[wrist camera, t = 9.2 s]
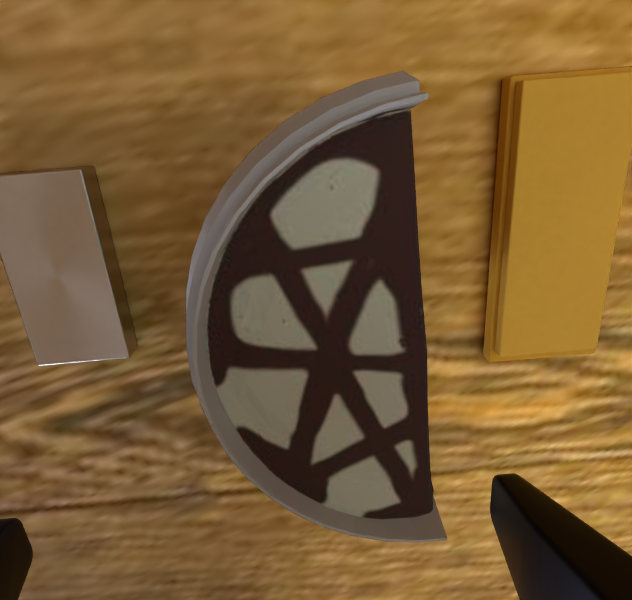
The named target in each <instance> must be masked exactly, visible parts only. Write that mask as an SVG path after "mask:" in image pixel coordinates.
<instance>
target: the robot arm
mask: <svg viewBox="0 0 632 600" xmlns="http://www.w3.org/2000/svg"><path fill="white" fill-rule="evenodd" d="M490 513H491V518H492V522H493V525H494V527H495V530H496V533H497V536H498V539H499V542H500V545H501V548H502V550H503V553H504V556H505V559H506V562H507V565H508V568H509V571H510V573H511V576H512V579H513V582H514V585H515V588H516V591H517V593H518V596H519V599H520V600H632V556H631V555H629V554H628V553H627V552H625V551H624V550H622V549H621V548H620V547H618V546H617V545H615V544H614V543H613V542H611V541H610V540H608V539H607V538H606V537H604V536H603V535H601V534H600V533H599V532H597V531H596V530H594V529H593V528H592V527H590V526H589V525H588V524H586V523H585V522H583V521H582V520H581V519H579V518H578V517H576V516H575V515H574V514H572V513H571V512H569V511H568V510H567V509H565V508H564V507H562V506H561V505H560V504H558V503H557V502H555V501H554V500H553V499H551V498H550V497H548V496H547V495H546V494H544V493H543V492H541V491H540V490H539V489H537V488H536V487H534V486H533V485H532V484H530V483H529V482H527V481H526V480H525V479H523V478H522V477H520V476H519V475H517V474H513V473H512V474H501V475H496V476H494V478H493V481H492V491H491V503H490ZM32 557H33V551H32V546H31V544H30V542H29V539H28V537H27V534H26V532H25V529H24V527H23V524H22V522H21V521H20V520H19V519H17V518H8V519H0V600H18V598H19V595H20V593H21V590H22V587H23V584H24V582H25V579H26V576H27V574H28V571H29V568H30V565H31V562H32Z"/></svg>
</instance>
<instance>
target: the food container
mask: <svg viewBox="0 0 632 600" xmlns="http://www.w3.org/2000/svg"><path fill="white" fill-rule="evenodd" d="M427 98H429V93H420V87H419V80H418V79H417V78H415V77H413V76H411V75H409V74H408V73H406V72H404V71H400V72H396V73H392V74H388V75H384V76H380V77H376V78H372V79H368V80H364V81H361V82H358V83H356V84H354V85H351V86H349V87H346V88H344V89H342V90H339V91H337V92H335V93H332V94H330V95H328V96H325V97H323V98H321V99H319V100H317V101H316V102H314V103H313V104H311V105H309V106H308V107H306V108H305V109H303V110H302V111H300V112H298V113H297V114H295V115H294V116H292V117H291V118H289V119H287V120H286V121H284V122H283V123H282V124H281V125H279V126H278V127H277V128H276V129H275V130H274V131H273V132H272V133H270V134H269V135H268V136H267V137H266V138H265V139H264V140H263V141H262V142H260V143H259V144H258V145H257V146H256V147H255V148H254V149H253V150H251V151H250V153H249V154H248V155H247V156H246V158H245V159H244V160H243V161H242V163H241V164H240V165H239V166H238V168H237V169H236V170H235V171H234V173H233V174H232V175H231V176H230V178H229V179H228V180H227V181H226V183H225V184H224V186H223V187H222V189H221V191H220V193H219V195H218V196H217V198H216V200H215V202H214V204H213V205H212V207H211V209H210V211H209V212H208V214H207V216H206V218H205V220H204V223H203V226H202V229H201V232H200V234H199V237H198V240H197V243H196V246H195V249H194V251H193V254H192V260H191V266H190V272H189V278H188V283H187V289H186V349H187V355H188V360H189V366H190V371H191V377H192V382H193V385H194V387H195V390H196V393H197V395H198V398H199V401H200V404H201V406H202V409H203V412H204V414H205V415H206V417H207V419H208V421H209V423H210V426H211V428H212V430H213V431H214V433H215V435H216V436H217V438H218V440H219V442H220V443H221V445H222V447H223V448H224V450H225V452H226V453H227V455H228V456H229V457H230V458H231V460H232V461H233V462H234V463H235V464H236V466H237V467H238V468H239V469H240V470H241V472H242V473H243V474H244V475H245V476H246V477H247V479H249V480H250V481H251V482H252V483H253V484H254V485H256V486H257V487H258V488H259V489H260V490H261V491H262V492H264V493H265V494H266V495H267V496H268V497H269V498H271V499H272V500H274V501H275V502H277V503H279V504H280V505H282V506H283V507H285V508H286V509H288V510H290V511H291V512H293V513H294V514H296V515H298V516H300V517H302V518H305V519H307V520H309V521H311V522H314V523H316V524H318V525H320V526H323V527H325V528H328V529H332V530H335V531H338V532H342V533H345V534H349V535H352V536H356V537H362V538H368V539H374V540H381V541H391V542H430V541H443V540H447V536H446V533H445V530H444V527H443V524H442V521H441V518H440V515H439V512H438V509H437V506H436V503H435V500H434V497H433V491H434V490H433V486H432V481H431V471H430V454H429V430H428V399H427V346H426V334H425V323H424V312H423V301H422V287H421V273H420V258H419V243H418V226H417V208H416V190H415V172H414V156H413V140H412V125H411V110H409V109H411V108H413V107H414V106H416V105H417V104H419V103H421V102H422V101H424V100H426V99H427Z"/></svg>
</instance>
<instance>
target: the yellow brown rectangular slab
mask: <svg viewBox="0 0 632 600" xmlns="http://www.w3.org/2000/svg"><path fill="white" fill-rule="evenodd" d="M631 147H632V66H630V67H617V68H604V69H592V70H579V71H566V72H554V73H541V74H528V75H516V76H508V77H504V78H503V80H502V93H501V108H500V122H499V136H498V150H497V165H496V179H495V193H494V207H493V222H492V236H491V250H490V265H489V279H488V293H487V307H486V322H485V336H484V350H483V355H484V356H485V357H486V359H487V360H488V361H489V362H498V361H510V360H521V359H533V358H545V357H556V356H568V355H580V354H591V353H595V351H596V348H597V343H598V338H599V332H600V326H601V320H602V315H603V309H604V303H605V297H606V291H607V286H608V280H609V274H610V268H611V263H612V257H613V251H614V245H615V240H616V234H617V228H618V222H619V216H620V211H621V205H622V199H623V193H624V188H625V182H626V176H627V170H628V165H629V159H630V153H631Z"/></svg>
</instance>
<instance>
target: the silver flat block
mask: <svg viewBox="0 0 632 600" xmlns="http://www.w3.org/2000/svg"><path fill="white" fill-rule="evenodd" d="M0 256H1V259H2V262H3V265H4V268H5V270H6V273H7V276H8V279H9V282H10V285H11V288H12V291H13V294H14V297H15V300H16V303H17V305H18V308H19V311H20V314H21V317H22V320H23V323H24V326H25V329H26V332H27V335H28V338H29V341H30V343H31V346H32V349H33V352H34V355H35V358H36V361H37V364H38V365H39V366H42V365H54V364H65V363H77V362H89V361H101V360H113V359H124V358H130V356H131V355H132V354H133V352H134V351H135V349H136V348H137V346H138V345H137V340H136V336H135V332H134V328H133V324H132V320H131V316H130V312H129V308H128V304H127V300H126V296H125V291H124V287H123V283H122V279H121V275H120V271H119V267H118V263H117V259H116V255H115V251H114V247H113V243H112V238H111V234H110V230H109V226H108V222H107V218H106V214H105V210H104V206H103V202H102V198H101V194H100V190H99V185H98V181H97V177H96V173H95V169H94V167H93V166H84V167H72V168H59V169H47V170H34V171H22V172H9V173H0Z"/></svg>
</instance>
